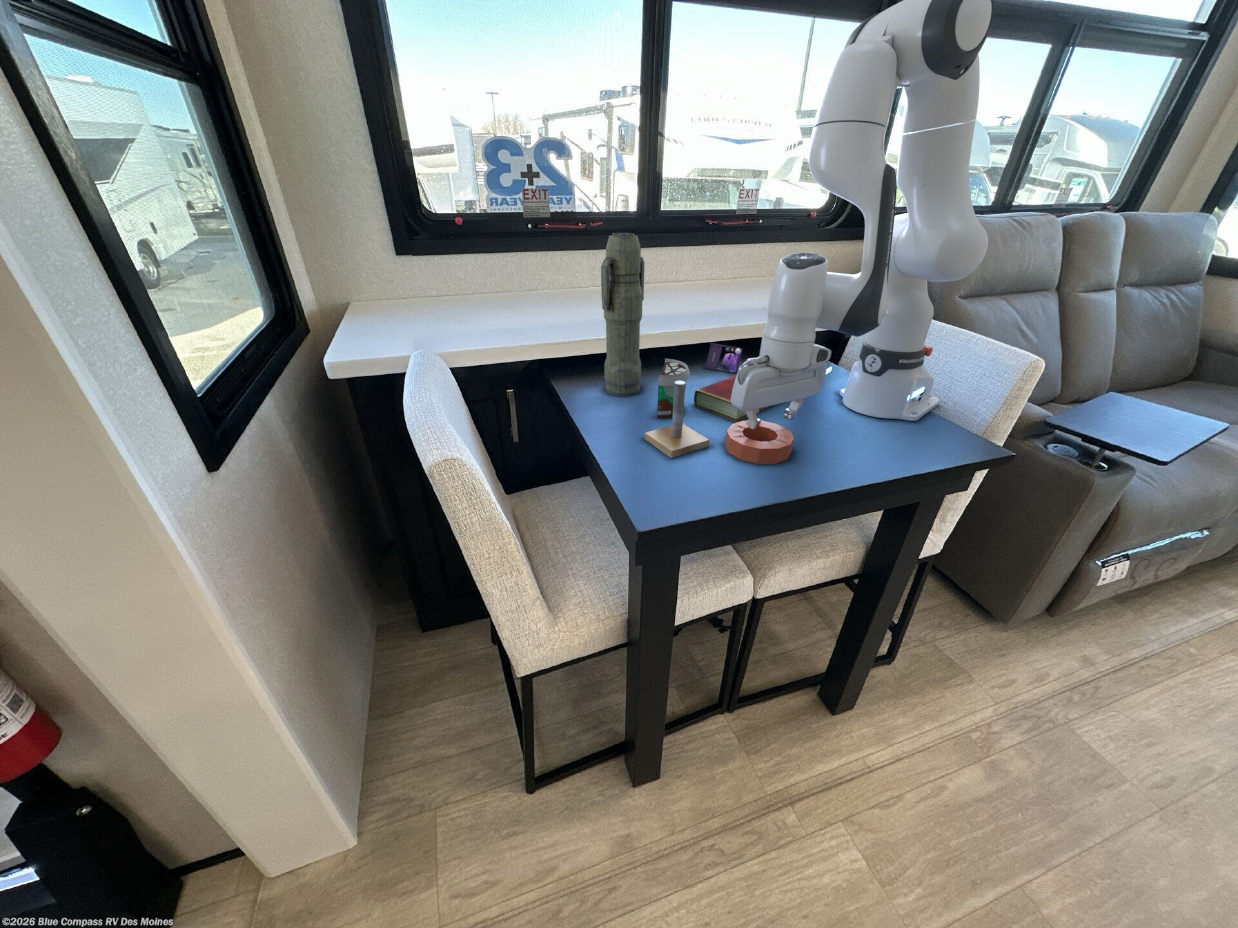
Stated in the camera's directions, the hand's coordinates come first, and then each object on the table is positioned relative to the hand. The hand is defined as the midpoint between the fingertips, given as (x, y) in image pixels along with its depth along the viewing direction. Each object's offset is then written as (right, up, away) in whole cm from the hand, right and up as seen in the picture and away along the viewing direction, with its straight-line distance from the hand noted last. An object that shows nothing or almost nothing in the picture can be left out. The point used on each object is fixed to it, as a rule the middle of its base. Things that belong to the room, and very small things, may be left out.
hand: (771, 422), depth 94 cm
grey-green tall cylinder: (-28, +10, +27) cm, 40 cm away
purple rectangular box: (-1, +18, +40) cm, 44 cm away
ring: (-3, -5, 0) cm, 6 cm away
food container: (-17, +4, +15) cm, 23 cm away
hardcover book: (-1, +7, +20) cm, 21 cm away
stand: (-18, -4, +2) cm, 19 cm away
